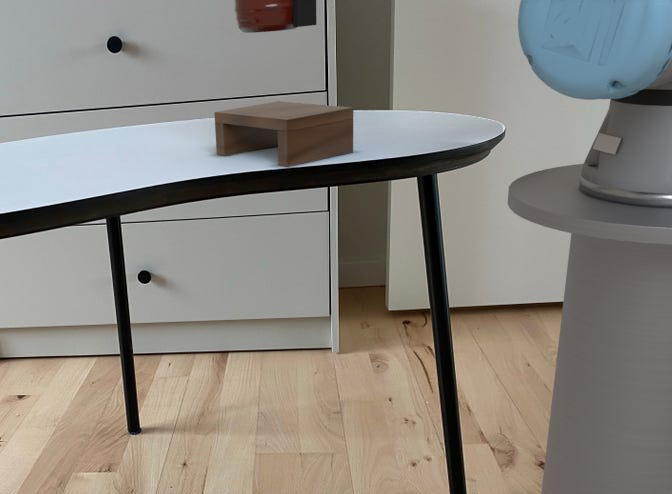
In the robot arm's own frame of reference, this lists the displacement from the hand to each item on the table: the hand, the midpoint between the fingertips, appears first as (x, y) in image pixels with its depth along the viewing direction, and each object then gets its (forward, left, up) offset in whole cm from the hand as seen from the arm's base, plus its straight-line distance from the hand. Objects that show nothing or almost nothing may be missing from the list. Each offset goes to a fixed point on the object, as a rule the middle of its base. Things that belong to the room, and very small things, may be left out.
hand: (279, 26), depth 93 cm
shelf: (0, 0, -14) cm, 14 cm away
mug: (-1, 0, -1) cm, 1 cm away
